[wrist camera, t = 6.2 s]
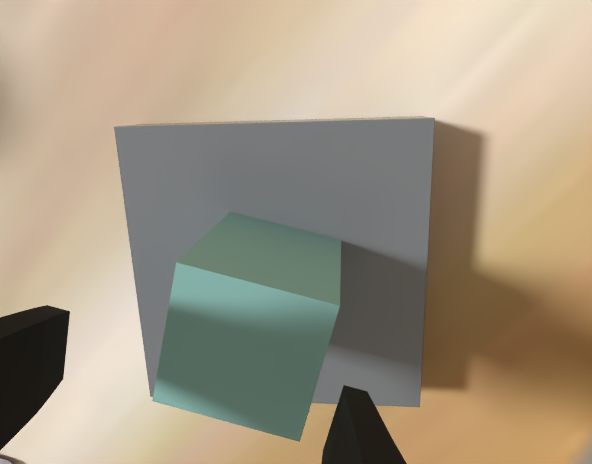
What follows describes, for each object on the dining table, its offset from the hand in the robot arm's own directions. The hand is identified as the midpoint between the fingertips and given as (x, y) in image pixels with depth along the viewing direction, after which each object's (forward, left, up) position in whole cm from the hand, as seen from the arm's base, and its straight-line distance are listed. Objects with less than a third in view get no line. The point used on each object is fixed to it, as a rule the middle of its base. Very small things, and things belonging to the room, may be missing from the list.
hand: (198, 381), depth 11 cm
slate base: (0, -1, -10) cm, 10 cm away
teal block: (0, -1, -7) cm, 7 cm away
